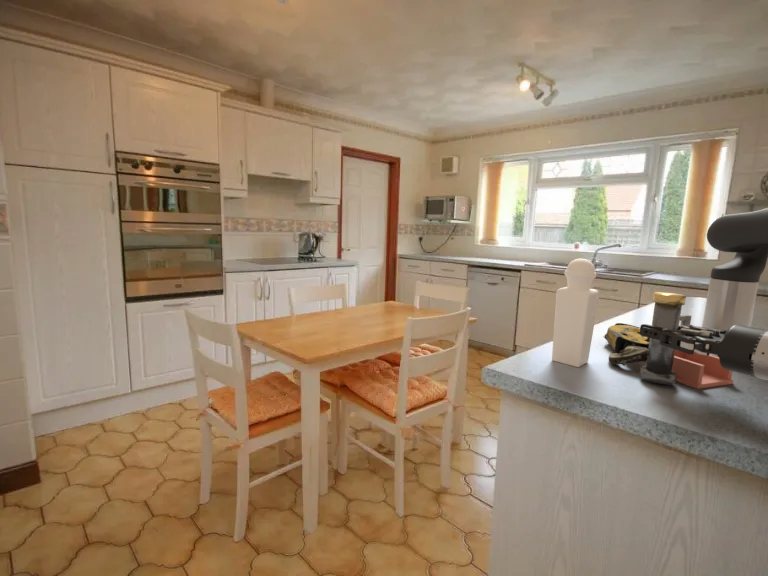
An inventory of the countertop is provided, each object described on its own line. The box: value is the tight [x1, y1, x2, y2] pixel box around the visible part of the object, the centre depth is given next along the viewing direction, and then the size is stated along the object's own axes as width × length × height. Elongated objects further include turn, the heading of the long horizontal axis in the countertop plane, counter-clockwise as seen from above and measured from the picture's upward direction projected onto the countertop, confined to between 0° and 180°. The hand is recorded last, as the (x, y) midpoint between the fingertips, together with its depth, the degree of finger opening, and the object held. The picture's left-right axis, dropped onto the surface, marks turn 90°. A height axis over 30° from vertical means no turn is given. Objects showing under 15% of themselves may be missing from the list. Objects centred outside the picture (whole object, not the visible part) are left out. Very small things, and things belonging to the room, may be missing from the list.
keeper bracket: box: [672, 314, 734, 390], centre depth 79 cm, size 11×11×11 cm
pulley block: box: [603, 322, 650, 367], centre depth 92 cm, size 14×6×30 cm
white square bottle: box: [551, 257, 600, 368], centre depth 83 cm, size 6×6×22 cm
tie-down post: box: [639, 291, 687, 386], centre depth 73 cm, size 6×6×16 cm
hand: (648, 328), depth 76 cm, fingers closed on tie-down post, 4 cm apart
